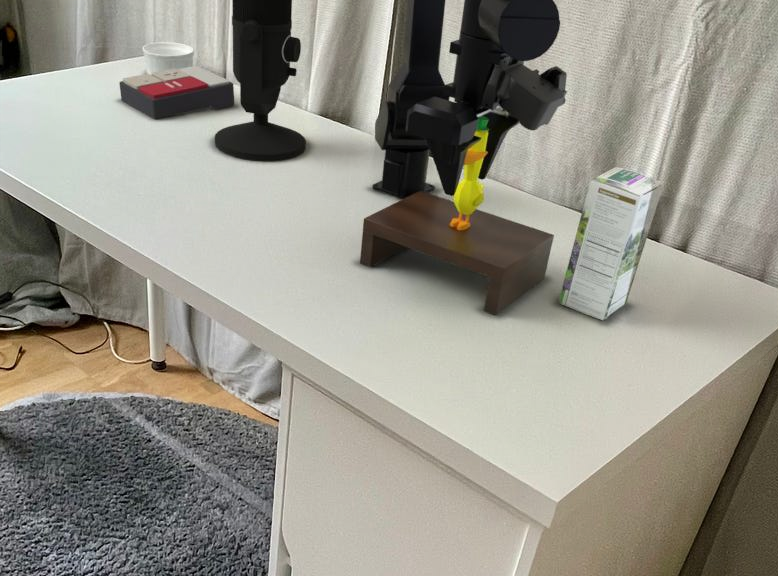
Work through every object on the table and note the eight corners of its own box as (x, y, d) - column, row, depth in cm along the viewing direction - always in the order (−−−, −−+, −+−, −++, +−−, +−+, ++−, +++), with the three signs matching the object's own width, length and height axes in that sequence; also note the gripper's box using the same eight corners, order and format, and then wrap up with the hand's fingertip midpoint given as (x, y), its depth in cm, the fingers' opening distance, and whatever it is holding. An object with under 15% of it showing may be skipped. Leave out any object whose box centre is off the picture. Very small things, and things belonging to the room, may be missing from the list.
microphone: (289, 167, 126) (295, -30, 111) (200, 151, 129) (194, -44, 113) (317, 138, 137) (326, -45, 122) (234, 124, 139) (233, -57, 124)
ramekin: (204, 77, 158) (203, 51, 156) (160, 83, 153) (158, 57, 151) (177, 65, 163) (176, 39, 161) (134, 70, 159) (132, 44, 156)
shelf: (415, 232, 111) (420, 190, 108) (544, 279, 104) (554, 234, 100) (359, 263, 103) (363, 218, 100) (495, 315, 96) (504, 268, 92)
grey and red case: (117, 76, 142) (197, 61, 150) (120, 104, 145) (199, 87, 153) (152, 95, 136) (234, 78, 144) (155, 123, 139) (235, 105, 146)
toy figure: (451, 239, 97) (468, 128, 90) (427, 228, 99) (442, 118, 92) (489, 224, 101) (508, 117, 94) (465, 214, 103) (482, 108, 96)
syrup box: (581, 287, 103) (613, 163, 94) (628, 306, 100) (665, 179, 91) (557, 304, 99) (588, 176, 90) (605, 323, 96) (641, 193, 87)
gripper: (517, 67, 78) (488, 233, 88) (601, 36, 91) (567, 184, 100) (412, 41, 83) (394, 201, 93) (505, 14, 96) (482, 158, 105)
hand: (465, 186), depth 98 cm, fingers closed on toy figure, 6 cm apart
